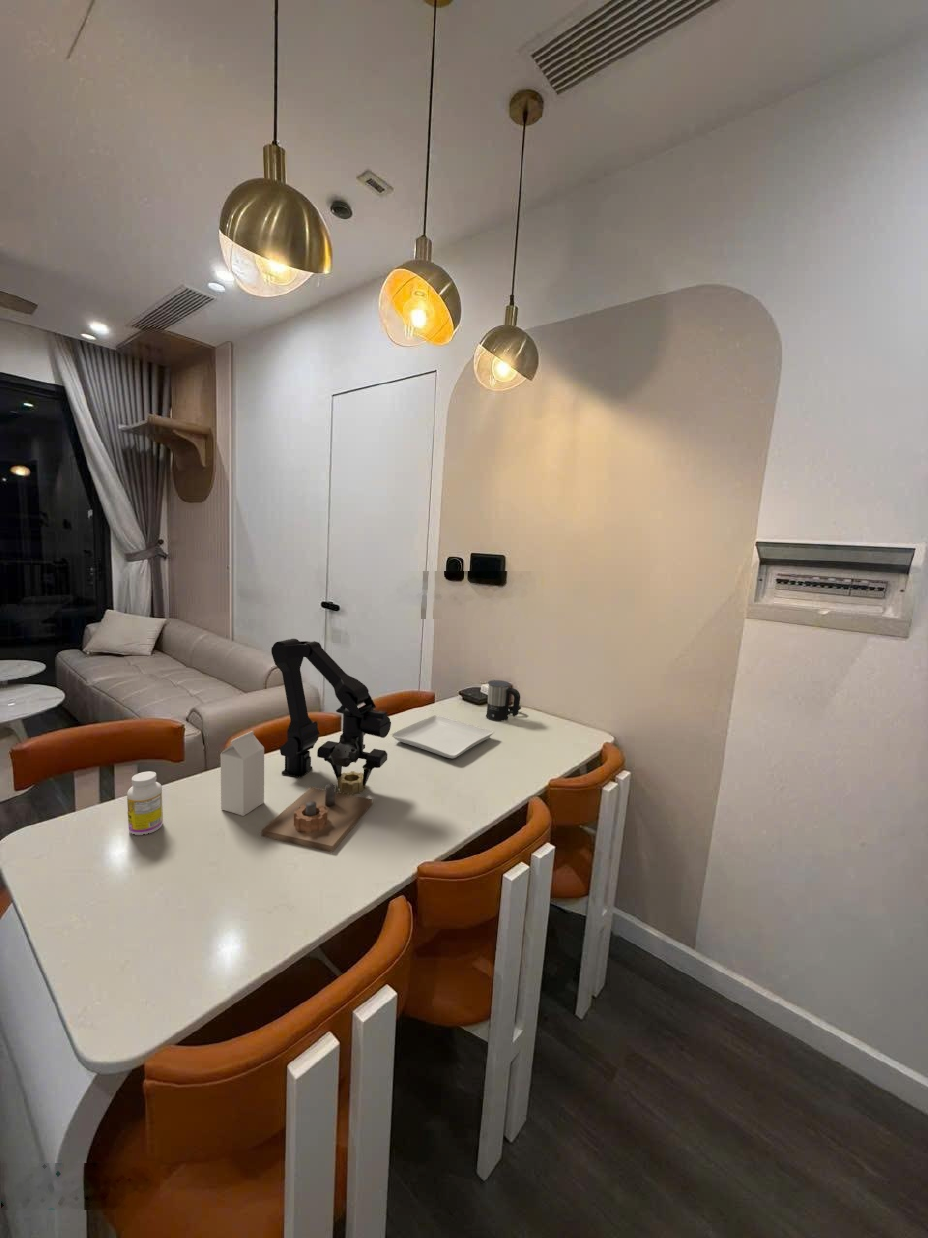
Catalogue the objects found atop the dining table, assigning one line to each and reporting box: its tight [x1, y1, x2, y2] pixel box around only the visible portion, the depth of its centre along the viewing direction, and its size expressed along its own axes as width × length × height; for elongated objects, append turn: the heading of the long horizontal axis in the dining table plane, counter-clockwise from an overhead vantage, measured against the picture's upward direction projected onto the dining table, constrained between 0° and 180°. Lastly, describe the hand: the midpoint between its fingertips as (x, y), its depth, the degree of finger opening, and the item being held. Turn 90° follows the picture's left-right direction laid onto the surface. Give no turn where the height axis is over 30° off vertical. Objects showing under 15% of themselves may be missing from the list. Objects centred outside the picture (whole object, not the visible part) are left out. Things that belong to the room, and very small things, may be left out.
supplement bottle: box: [126, 770, 164, 836], centre depth 109 cm, size 7×7×13 cm
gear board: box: [261, 783, 373, 853], centre depth 118 cm, size 18×21×6 cm
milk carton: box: [220, 730, 265, 817], centre depth 120 cm, size 7×7×19 cm
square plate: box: [390, 714, 495, 759], centre depth 170 cm, size 27×27×4 cm
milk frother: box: [485, 679, 522, 722], centre depth 200 cm, size 14×16×15 cm
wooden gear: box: [336, 770, 366, 795], centre depth 134 cm, size 7×7×3 cm
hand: (351, 782), depth 134 cm, fingers closed on wooden gear, 7 cm apart
